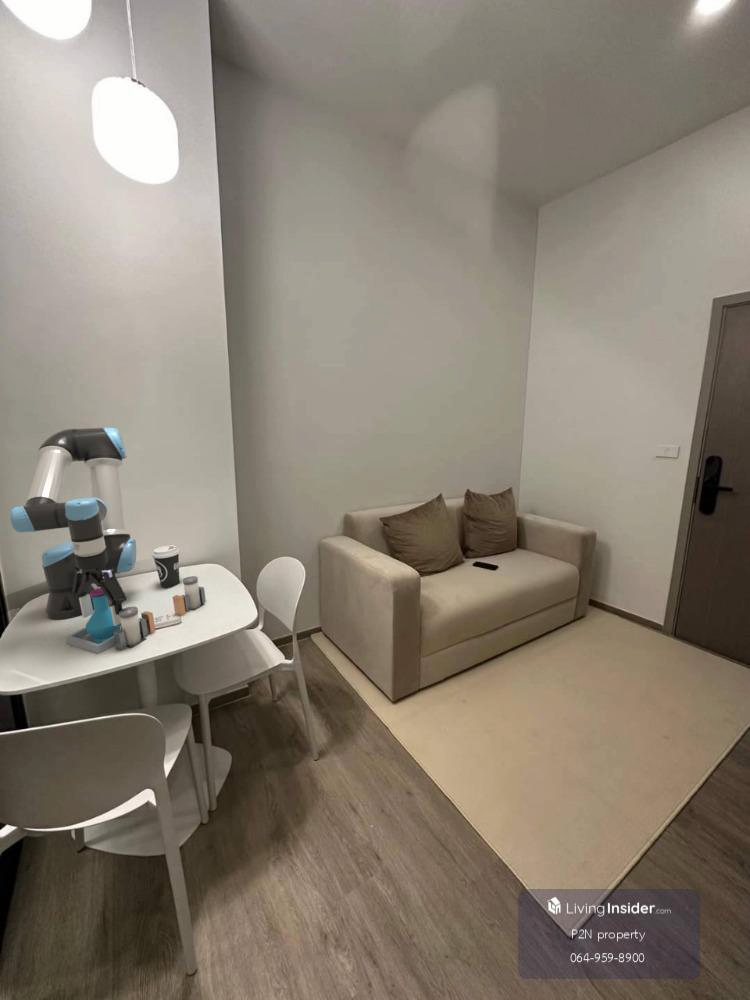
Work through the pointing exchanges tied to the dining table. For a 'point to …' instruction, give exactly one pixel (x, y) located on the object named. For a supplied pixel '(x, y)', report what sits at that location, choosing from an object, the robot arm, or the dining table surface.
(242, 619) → the dining table surface
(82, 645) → the tray
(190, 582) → the canister
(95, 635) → the perfume bottle
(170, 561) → the coffee cup
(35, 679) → the dining table surface
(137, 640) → the canister
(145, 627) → the clip rack
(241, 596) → the dining table surface
